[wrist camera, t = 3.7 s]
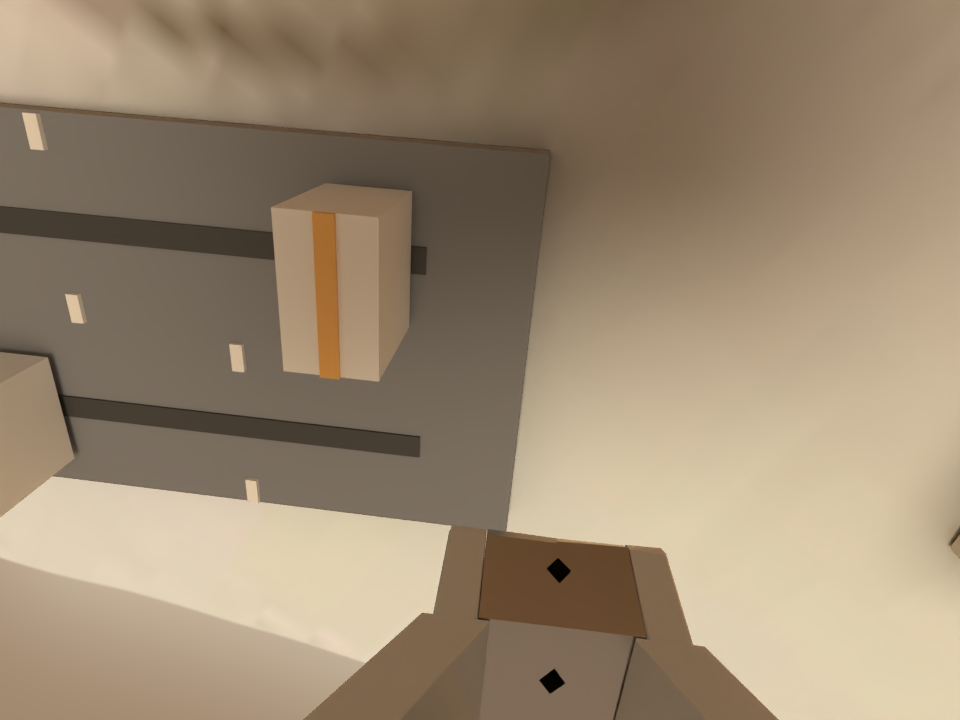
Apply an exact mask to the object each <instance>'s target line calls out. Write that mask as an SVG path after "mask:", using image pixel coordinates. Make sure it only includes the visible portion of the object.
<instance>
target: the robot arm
mask: <svg viewBox="0 0 960 720" xmlns="http://www.w3.org/2000/svg"><path fill="white" fill-rule="evenodd" d="M486 531H487V530H485V529H480V528H472V527H465V526H457V525H452V527H451V529H450V531H449V535H448V541H447V546H446V551H445V556H444V561H443V566H442V571H441V577H440V582H439V587H438V592H437V597H436V602H435V608H434V613H433V614H428V613H422V614H420V615H419V616H418V617H417V618H416V619H415V620H414V621H413V622H412V623H410V624H409V625H408V626H407V627H406V628H405V629H404V630H403V631H401V632H400V633H399V634H398V635H397V636H396V637H395V638H394V639H393V640H391V641H390V642H389V643H388V644H387V645H386V646H385V647H384V648H383V649H381V650H380V651H379V652H378V653H377V654H376V655H375V656H374V657H373V658H371V659H370V660H369V661H368V662H367V663H366V664H365V665H364V666H363V667H362V668H360V669H359V670H358V671H357V672H356V673H355V674H354V675H353V676H351V677H350V678H349V679H348V680H347V681H346V682H345V683H344V684H343V685H341V686H340V687H339V688H338V689H337V690H336V691H335V692H334V693H332V694H331V695H330V696H329V697H328V698H327V699H326V700H325V701H324V702H322V703H321V704H320V705H319V706H318V707H317V708H316V709H315V710H314V711H312V712H311V713H310V714H309V715H308V716H307V717H306V718H305V719H303V720H778V719H777V718H776V717H775V716H774V715H773V714H772V713H771V712H770V711H769V710H768V709H767V708H766V707H765V706H764V705H763V704H762V703H761V702H760V701H759V700H758V699H757V698H756V697H755V696H754V695H753V694H752V693H751V692H750V691H749V690H748V689H747V688H746V687H745V686H744V685H743V684H742V683H741V682H740V681H739V680H738V679H737V678H736V677H735V676H734V675H733V674H732V673H731V672H730V671H729V670H728V669H727V668H726V667H725V666H724V665H723V664H722V663H721V662H720V661H719V660H718V659H717V658H716V657H715V656H714V655H713V654H712V653H711V652H710V651H709V650H708V649H707V648H706V647H703V646H695V645H693V643H692V640H691V636H690V633H689V630H688V626H687V623H686V620H685V616H684V613H683V609H682V606H681V603H680V599H679V596H678V593H677V589H676V586H675V583H674V579H673V576H672V573H671V569H670V566H669V562H668V559H667V556H666V553H665V552H664V551H663V550H662V549H661V548H653V547H642V546H631V545H625V546H623V545H613V544H604V543H595V542H585V541H576V540H566V539H557V538H550V537H543V536H536V535H528V534H521V533H514V532H506V531H499V530H492V529H488V531H487V539H486ZM485 543H486V548H485ZM484 554H485V557H484Z"/></svg>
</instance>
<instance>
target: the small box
mask: <svg viewBox="0 0 960 720" xmlns="http://www.w3.org/2000/svg"><path fill="white" fill-rule="evenodd" d="M951 549H952V550H953V551H954V552H955V554H956V555H957V556H958V557H959V558H960V535H959V536H958V538H957V539H956V540H955V541H954V543H953V544H952V545H951Z"/></svg>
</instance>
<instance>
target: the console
mask: <svg viewBox="0 0 960 720" xmlns="http://www.w3.org/2000/svg"><path fill="white" fill-rule="evenodd" d="M549 162H550V150H540V149H528V148H517V147H505V146H493V145H482V144H470V143H459V142H447V141H436V140H424V139H412V138H401V137H389V136H378V135H366V134H355V133H343V132H331V131H320V130H308V129H297V128H285V127H273V126H262V125H250V124H239V123H227V122H216V121H204V120H192V119H181V118H169V117H158V116H146V115H135V114H123V113H111V112H100V111H88V110H77V109H65V108H54V107H42V106H30V105H19V104H7V103H0V352H5V353H14V354H23V355H32V356H41V357H48V360H49V363H50V367H51V371H52V375H53V379H54V382H55V386H56V390H57V394H58V398H59V401H60V405H61V409H62V413H63V416H64V420H65V424H66V428H67V432H68V435H69V439H70V443H71V447H72V451H73V454H74V459H73V460H72V461H71V462H69V463H68V464H67V465H66V466H64V467H63V468H62V469H61V470H59V471H58V472H57V473H56V474H54V475H53V476H56V477H64V478H72V479H80V480H88V481H97V482H105V483H113V484H121V485H129V486H137V487H145V488H153V489H161V490H169V491H177V492H185V493H193V494H201V495H209V496H217V497H225V498H233V499H242V500H248V502H255V503H259V502H266V503H274V504H282V505H290V506H298V507H306V508H314V509H322V510H330V511H338V512H346V513H354V514H362V515H370V516H378V517H386V518H395V519H403V520H411V521H419V522H427V523H435V524H443V525H451V526H452V525H457V526H465V527H472V528H480V529H485V530H488V529H492V530H499V531H506V529H507V521H508V512H509V504H510V495H511V487H512V478H513V469H514V461H515V452H516V444H517V435H518V427H519V418H520V410H521V401H522V393H523V384H524V376H525V367H526V359H527V350H528V341H529V333H530V324H531V316H532V307H533V299H534V290H535V282H536V273H537V265H538V256H539V248H540V239H541V231H542V222H543V214H544V205H545V196H546V188H547V179H548V171H549ZM325 183H330V184H341V185H352V186H363V187H374V188H385V189H396V190H407V191H412V226H411V270H410V313H409V329H408V331H407V332H406V334H405V336H404V338H403V339H402V341H401V343H400V345H399V347H398V348H397V350H396V352H395V354H394V356H393V357H392V359H391V361H390V363H389V365H388V366H387V368H386V370H385V372H384V374H383V375H382V377H381V379H380V381H379V382H377V381H368V380H359V379H350V378H340V379H339V380H338V379H329V378H320V375H314V374H305V373H296V372H287V371H283V358H282V345H281V332H280V319H279V307H278V294H277V281H276V268H275V255H274V242H273V229H272V216H271V207H273V206H275V205H277V204H280V203H282V202H284V201H286V200H289V199H291V198H293V197H295V196H298V195H300V194H302V193H304V192H307V191H309V190H311V189H313V188H316V187H318V186H320V185H323V184H325Z"/></svg>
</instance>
